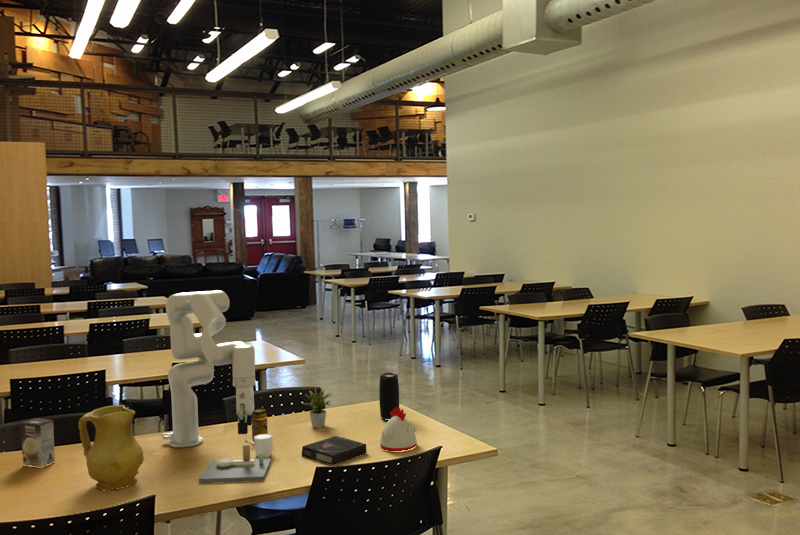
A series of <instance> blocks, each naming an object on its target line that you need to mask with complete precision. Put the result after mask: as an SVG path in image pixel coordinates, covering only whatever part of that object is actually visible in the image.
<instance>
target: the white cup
mask: <svg viewBox="0 0 800 535" xmlns="http://www.w3.org/2000/svg"><path fill="white" fill-rule="evenodd" d="M273 437H274V436H273V435H272V434H270V433H268V434H259V435H256V436H254V443H255V444H254V449H255V457H257V456H258V457H257V458H259V453H261V452H262V453H263V458H268V457H270V455H271V454H273V453H272V451H273ZM267 456H268V457H267ZM271 456H272V455H271Z"/></svg>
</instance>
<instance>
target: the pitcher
mask: <svg viewBox="0 0 800 535" xmlns="http://www.w3.org/2000/svg"><path fill="white" fill-rule="evenodd" d="M135 415H136V411H135V410H133V409H129V408H127V407H126V406H125V405H124V404H118V405H116V404H115V405H107V406H103V407H99V408H95V409H93V410H92V411H90V412H87V413H85V414H84V415H83V416H82V417H80V418H79V420H78V430H79V437H80V441H81V445H82V448H83V455H84V457H85V459H86V468H87V472H88V475H89V477H90V479H93V480H94V481H95V482H97V483H95V487H96V488H97V490H100V489H101V490H100V491H103V490H112V489H117V488H121V489H123V488H122V487H125V488H128V487H127V486H129V487H131V486H133V485H135V484H136V483H137V482H138V480H137V478H136V476H137V475H139V473H140V472H139V469H140V467H141V465H142V464H143V462H144V451H143V449H142V447H141V445H140V443H139V442H138V440H136V438H135V436H134V434H133V430H132V418H133V417H134V416H135ZM87 422H91V423H92V425H93V426H94V428H95V436H94V441H93V443H92V444H91V440H90V436H89V433H88V430H87ZM130 485H131V486H130ZM112 491H113V490H112Z"/></svg>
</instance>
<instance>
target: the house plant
mask: <svg viewBox="0 0 800 535" xmlns="http://www.w3.org/2000/svg"><path fill="white" fill-rule="evenodd" d="M325 391H326V389H323V388H321V389H320V392H319V393H318V392H317V389H316V388H314V392H315V393H314V392H313V391H311V389H309V394H310V395H308V394H306V393H304V395H305V396H306V398H308V400H309V401H310V403H308V402H304V403H302V405H307V406H310V407H311V408H312V410H310V411H309V417H310V421H311V422H310V423H311V427H312V428H313V427H316V428H317V429H320V428H319V427H321V428H324V427H325V426H326V425H325V423H326V416H327V410H325V409H324V408H325V407H326V406H329V407H331V404H330V401H331V399H330V400H327V398H329V397H331V396H332V394H333V392H335V391H336V390H335V391H331V392H328V393H327V394H325ZM326 400H327V401H326ZM323 426H324V427H323ZM316 428H315V429H316Z"/></svg>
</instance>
